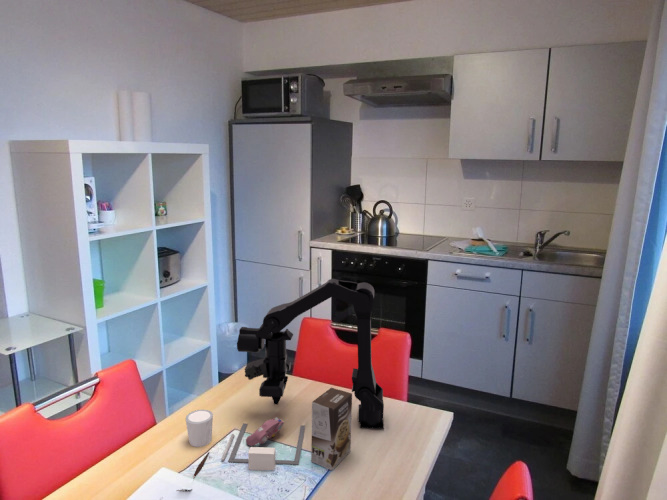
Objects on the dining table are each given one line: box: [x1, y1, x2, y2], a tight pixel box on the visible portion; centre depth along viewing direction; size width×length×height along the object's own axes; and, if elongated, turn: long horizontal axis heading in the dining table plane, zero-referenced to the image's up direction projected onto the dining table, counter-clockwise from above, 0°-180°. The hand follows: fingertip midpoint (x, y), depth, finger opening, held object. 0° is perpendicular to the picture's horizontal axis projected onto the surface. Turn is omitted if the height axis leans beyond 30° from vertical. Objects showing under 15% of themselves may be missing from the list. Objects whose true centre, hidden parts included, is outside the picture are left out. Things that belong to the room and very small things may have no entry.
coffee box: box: [310, 387, 353, 471], centre depth 117 cm, size 9×6×16 cm
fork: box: [176, 451, 210, 493], centre depth 111 cm, size 3×16×2 cm, turn 173°
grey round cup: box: [185, 409, 214, 448], centre depth 123 cm, size 7×7×7 cm
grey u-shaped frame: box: [220, 422, 306, 471], centre depth 122 cm, size 19×19×4 cm
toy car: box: [245, 416, 285, 447], centre depth 124 cm, size 10×5×7 cm, turn 145°
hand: (276, 404), depth 135 cm, fingers closed
